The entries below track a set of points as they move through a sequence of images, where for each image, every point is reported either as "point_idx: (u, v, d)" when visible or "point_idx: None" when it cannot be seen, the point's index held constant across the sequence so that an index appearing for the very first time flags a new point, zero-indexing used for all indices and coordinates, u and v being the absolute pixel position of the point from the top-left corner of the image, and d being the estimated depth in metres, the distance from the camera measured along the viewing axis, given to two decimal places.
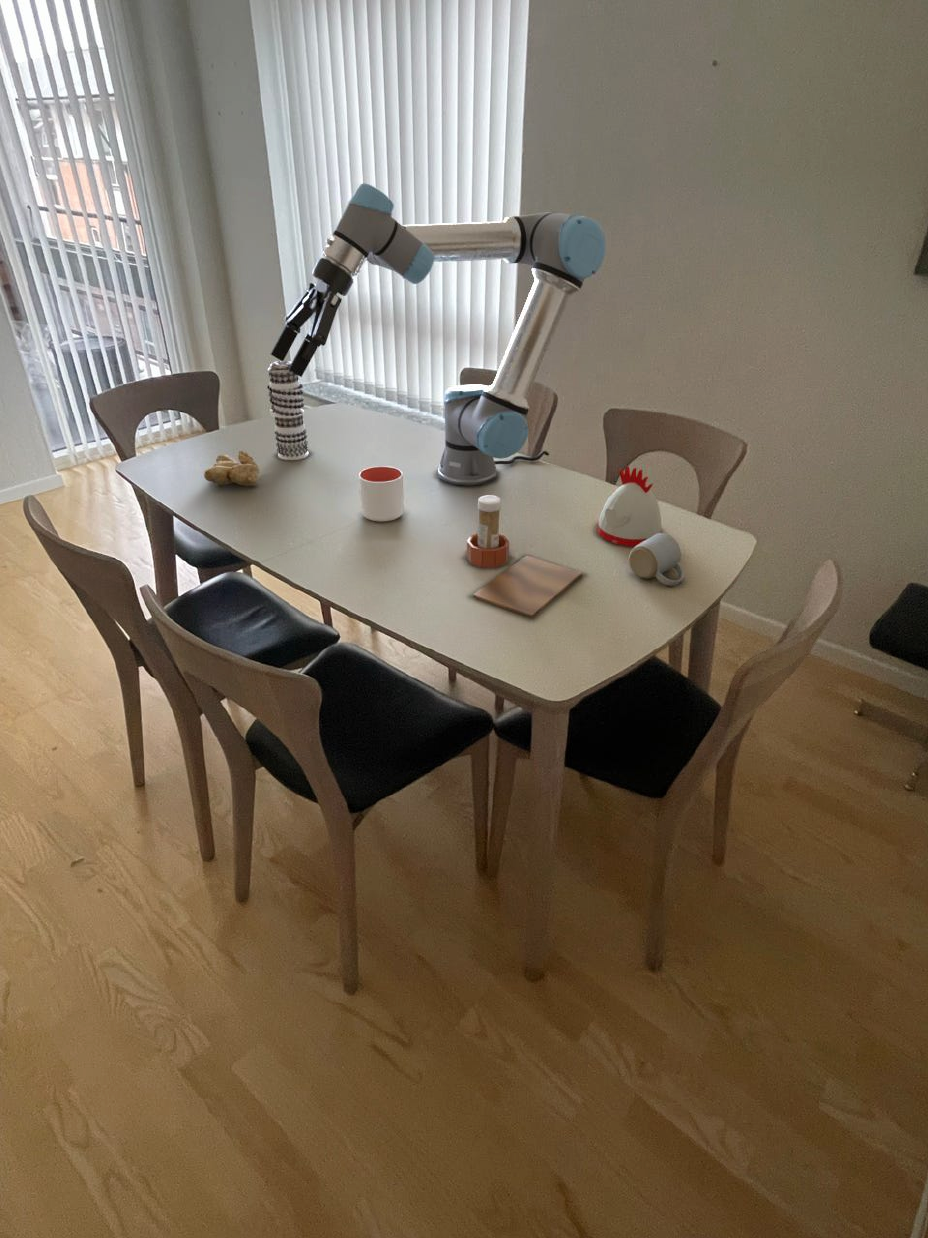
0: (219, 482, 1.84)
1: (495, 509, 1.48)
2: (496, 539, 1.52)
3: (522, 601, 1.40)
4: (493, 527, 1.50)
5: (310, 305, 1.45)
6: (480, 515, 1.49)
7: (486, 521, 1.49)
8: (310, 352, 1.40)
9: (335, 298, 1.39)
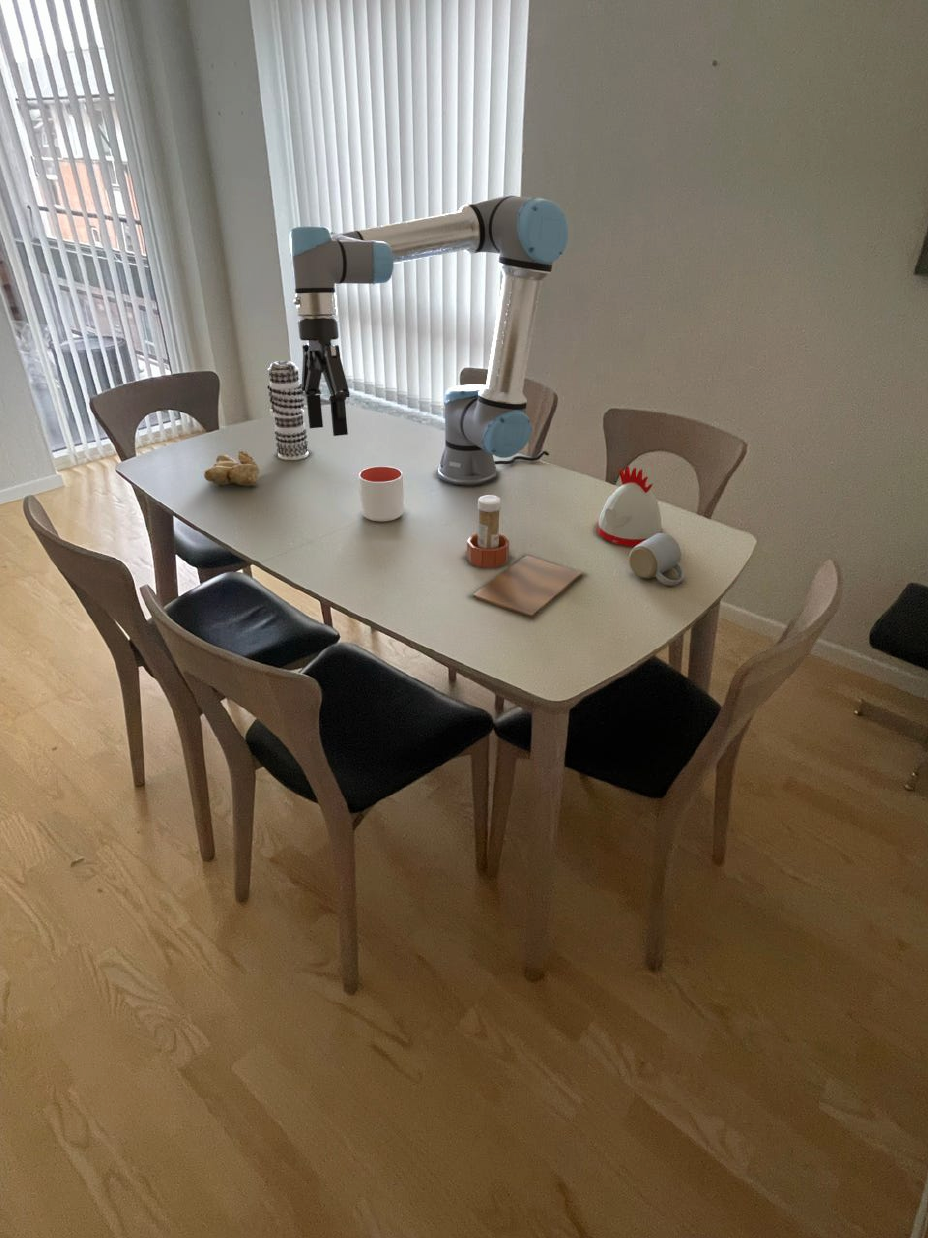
0: (219, 482, 1.84)
1: (495, 509, 1.48)
2: (496, 539, 1.52)
3: (522, 601, 1.40)
4: (493, 527, 1.50)
5: (316, 367, 1.45)
6: (480, 515, 1.49)
7: (486, 521, 1.49)
8: (342, 409, 1.41)
9: (332, 349, 1.38)
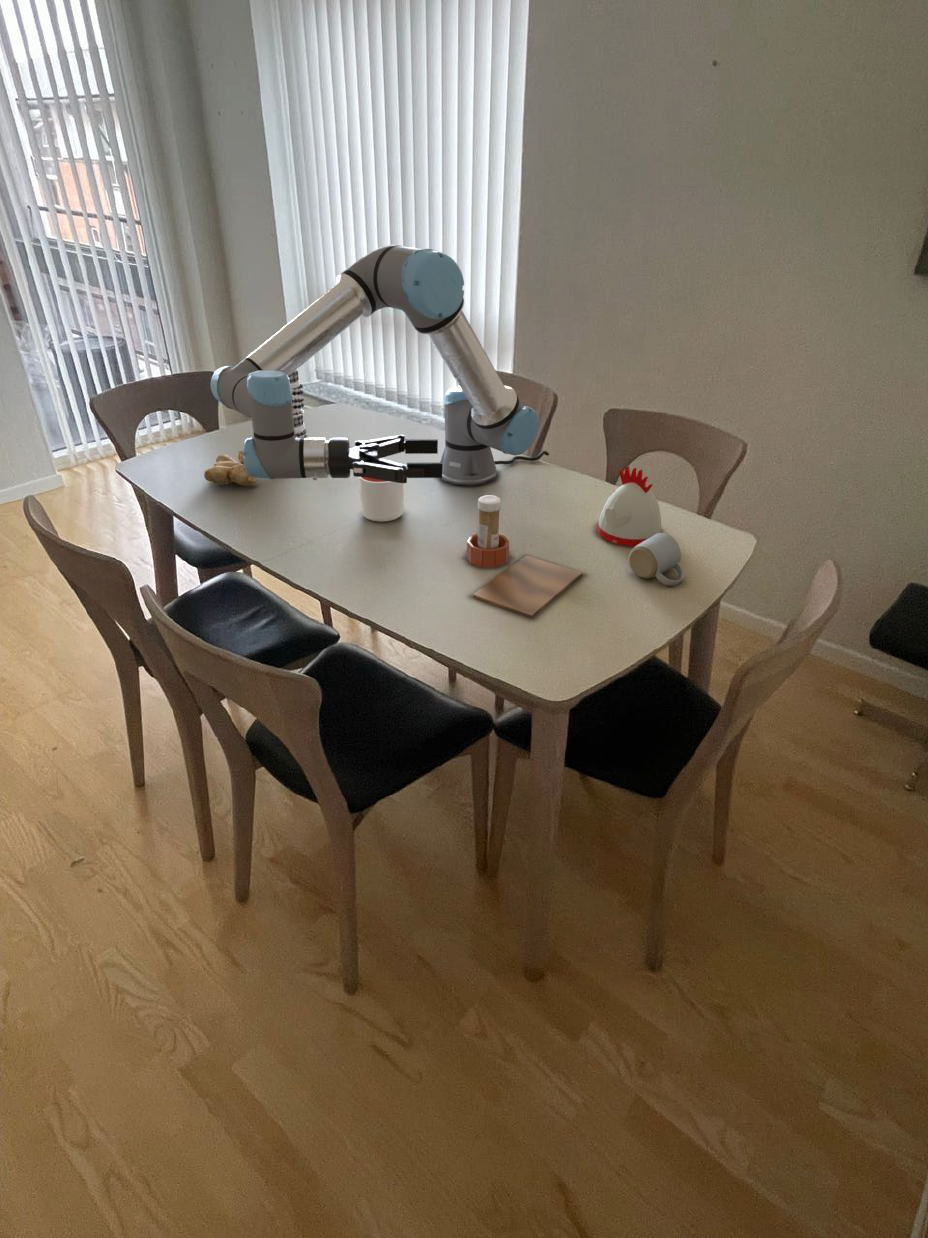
0: (219, 482, 1.84)
1: (495, 509, 1.48)
2: (496, 539, 1.52)
3: (522, 601, 1.40)
4: (493, 527, 1.50)
5: None
6: (480, 515, 1.49)
7: (486, 521, 1.49)
8: (415, 472, 1.36)
9: (356, 470, 1.36)
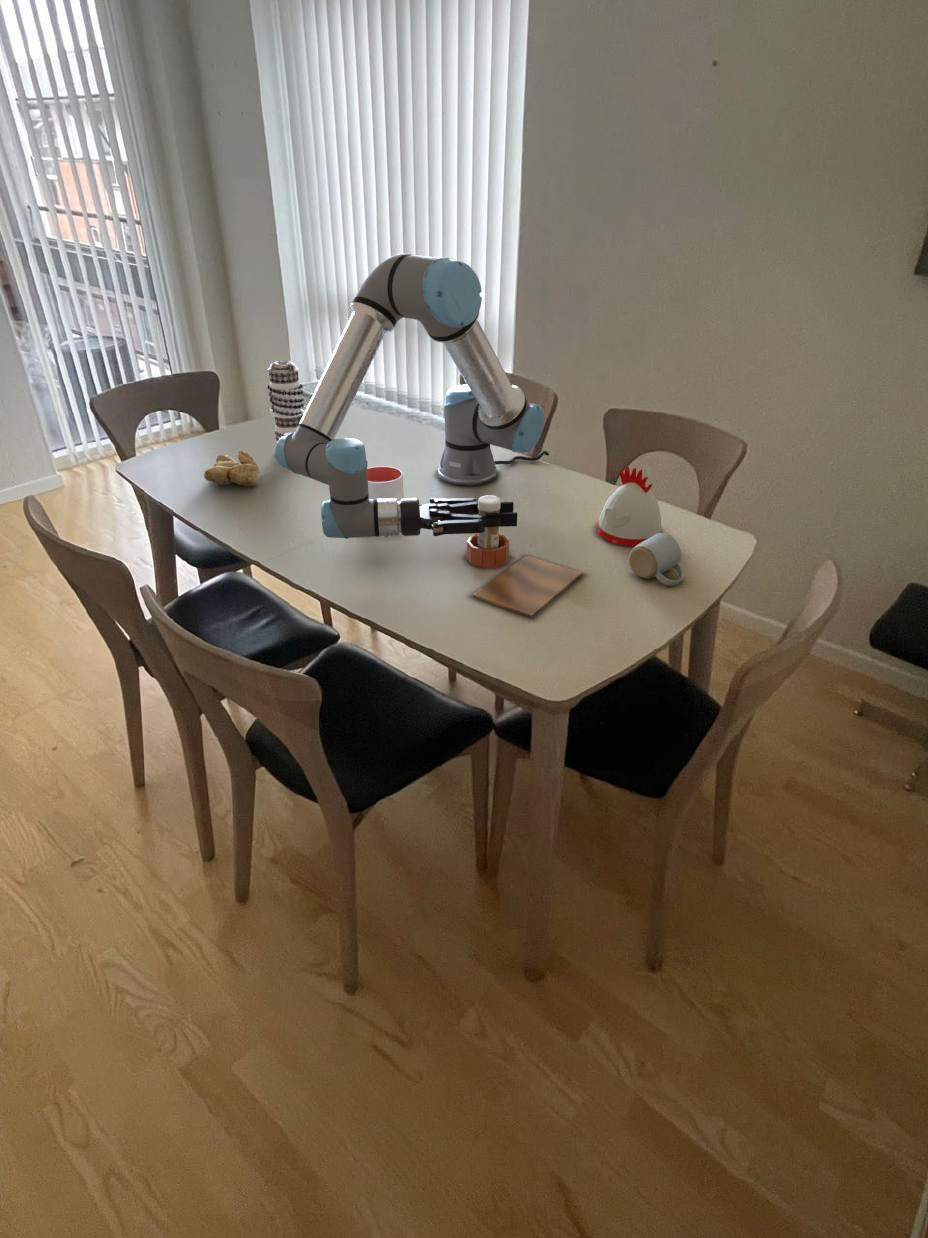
0: (219, 482, 1.84)
1: (495, 509, 1.48)
2: (496, 539, 1.52)
3: (522, 601, 1.40)
4: (493, 527, 1.50)
5: None
6: None
7: None
8: (493, 522, 1.47)
9: (437, 530, 1.44)
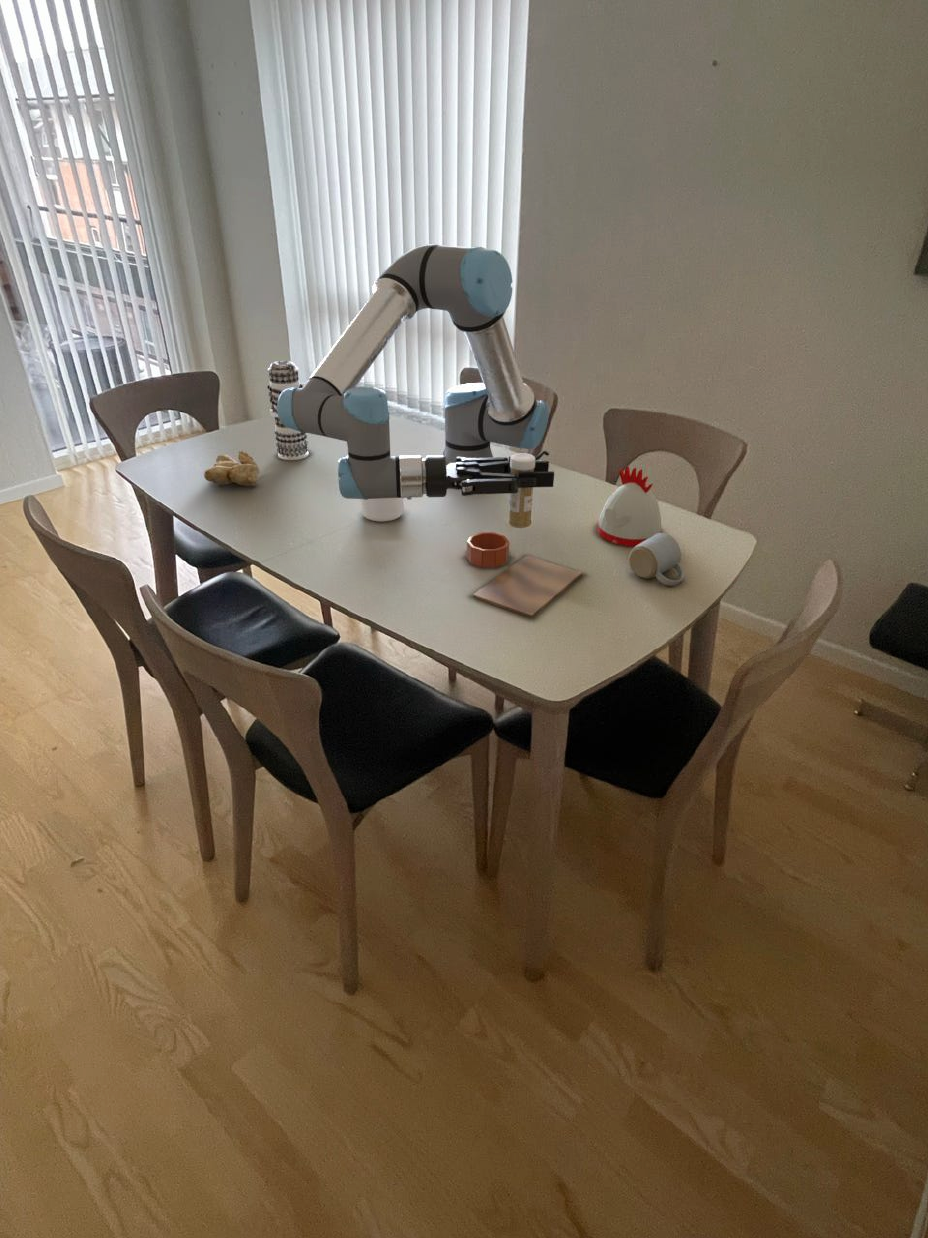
0: (219, 482, 1.84)
1: (529, 467, 1.34)
2: (529, 502, 1.38)
3: (522, 601, 1.40)
4: (526, 488, 1.36)
5: None
6: None
7: None
8: (527, 481, 1.33)
9: (466, 490, 1.30)
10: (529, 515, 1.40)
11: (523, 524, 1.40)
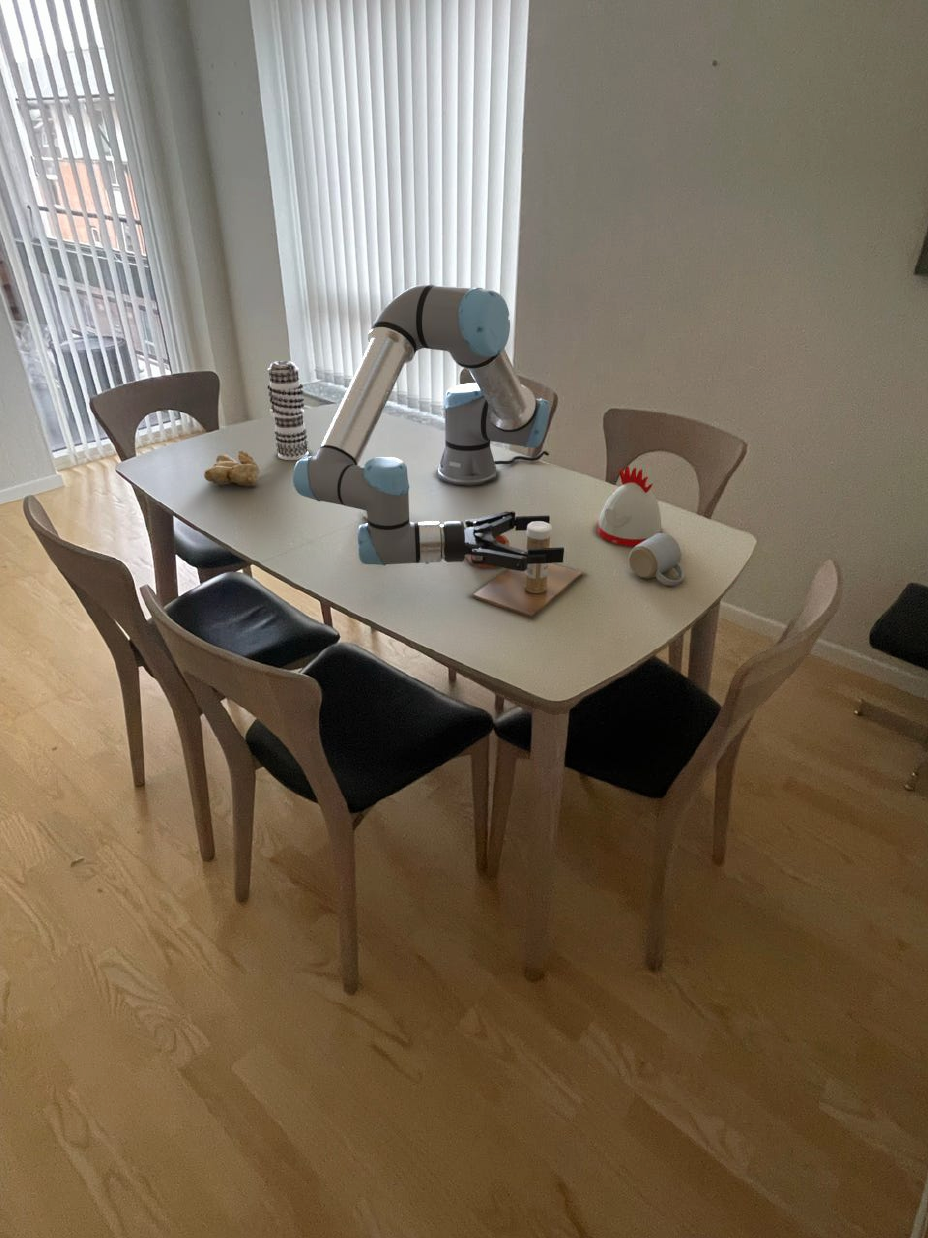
0: (219, 482, 1.84)
1: (546, 537, 1.36)
2: (546, 568, 1.40)
3: (522, 601, 1.40)
4: None
5: None
6: (529, 543, 1.38)
7: None
8: (537, 558, 1.31)
9: (475, 558, 1.32)
10: (545, 581, 1.42)
11: (539, 589, 1.42)
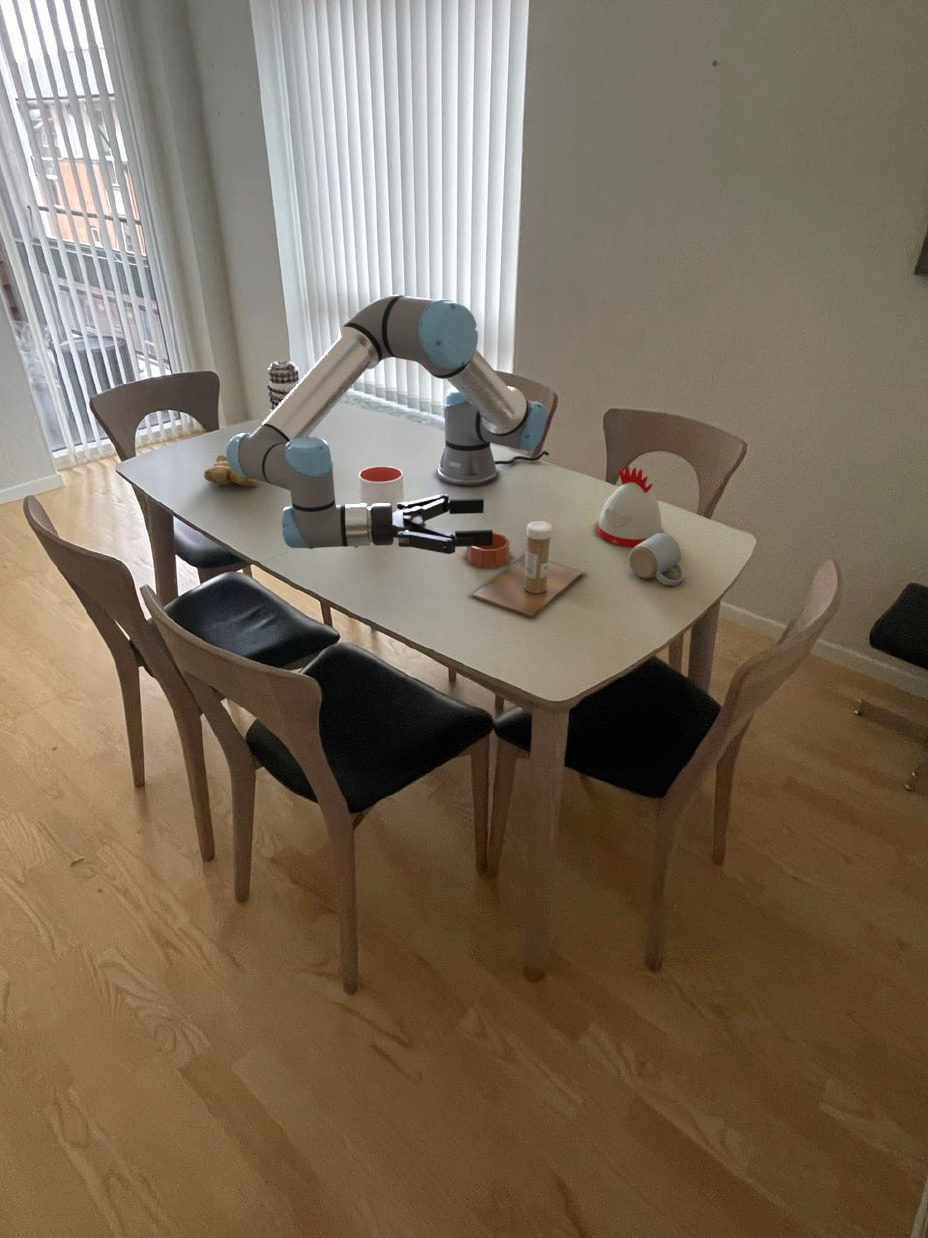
0: (219, 482, 1.84)
1: (546, 537, 1.36)
2: (546, 568, 1.40)
3: (522, 601, 1.40)
4: (543, 556, 1.38)
5: None
6: (529, 543, 1.38)
7: (536, 550, 1.37)
8: (464, 541, 1.28)
9: (402, 541, 1.28)
10: (545, 581, 1.42)
11: (539, 589, 1.42)
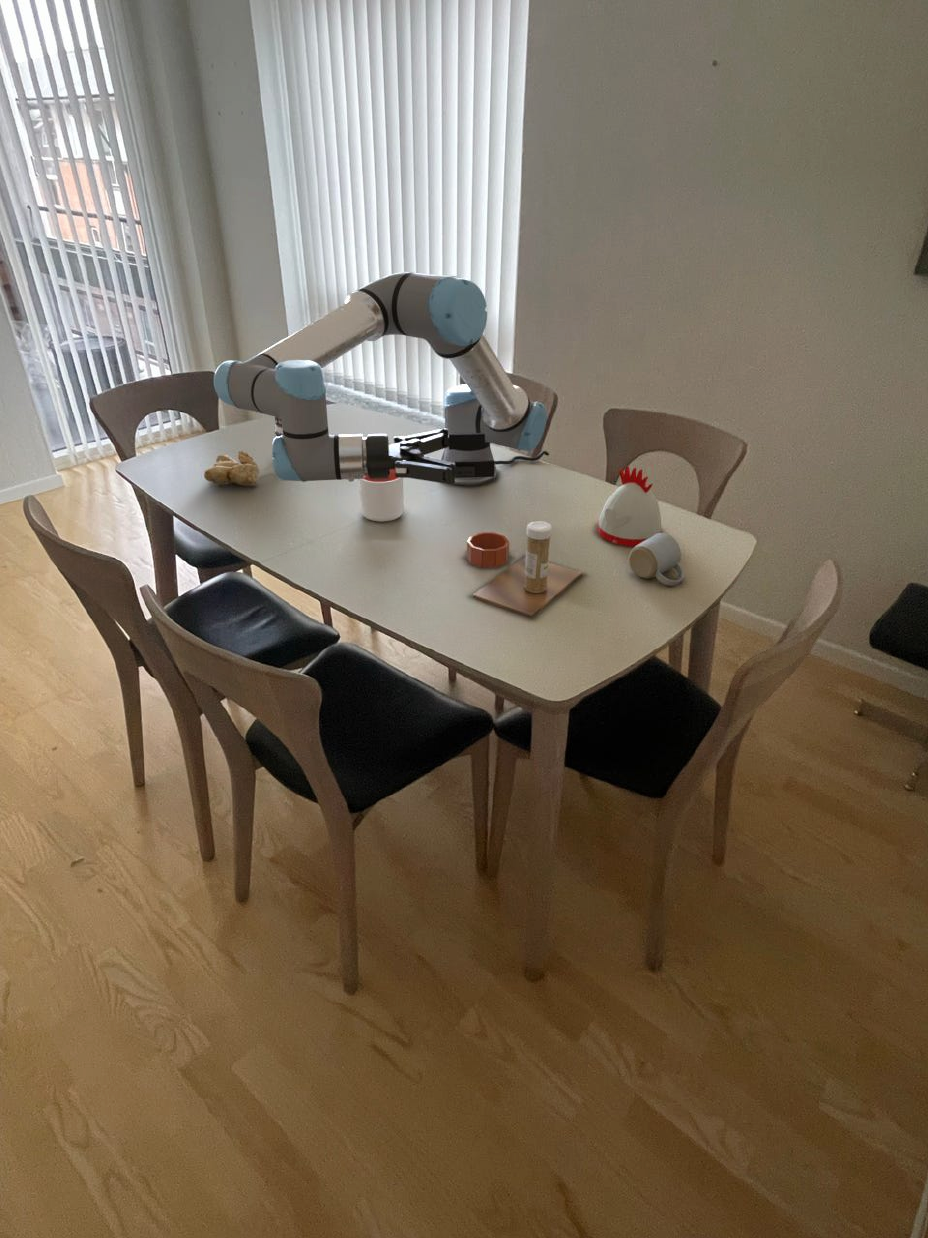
0: (219, 482, 1.84)
1: (546, 537, 1.36)
2: (546, 568, 1.40)
3: (522, 601, 1.40)
4: (543, 556, 1.38)
5: None
6: (529, 543, 1.38)
7: (536, 550, 1.37)
8: (465, 471, 1.21)
9: (398, 471, 1.22)
10: (545, 581, 1.42)
11: (539, 589, 1.42)
